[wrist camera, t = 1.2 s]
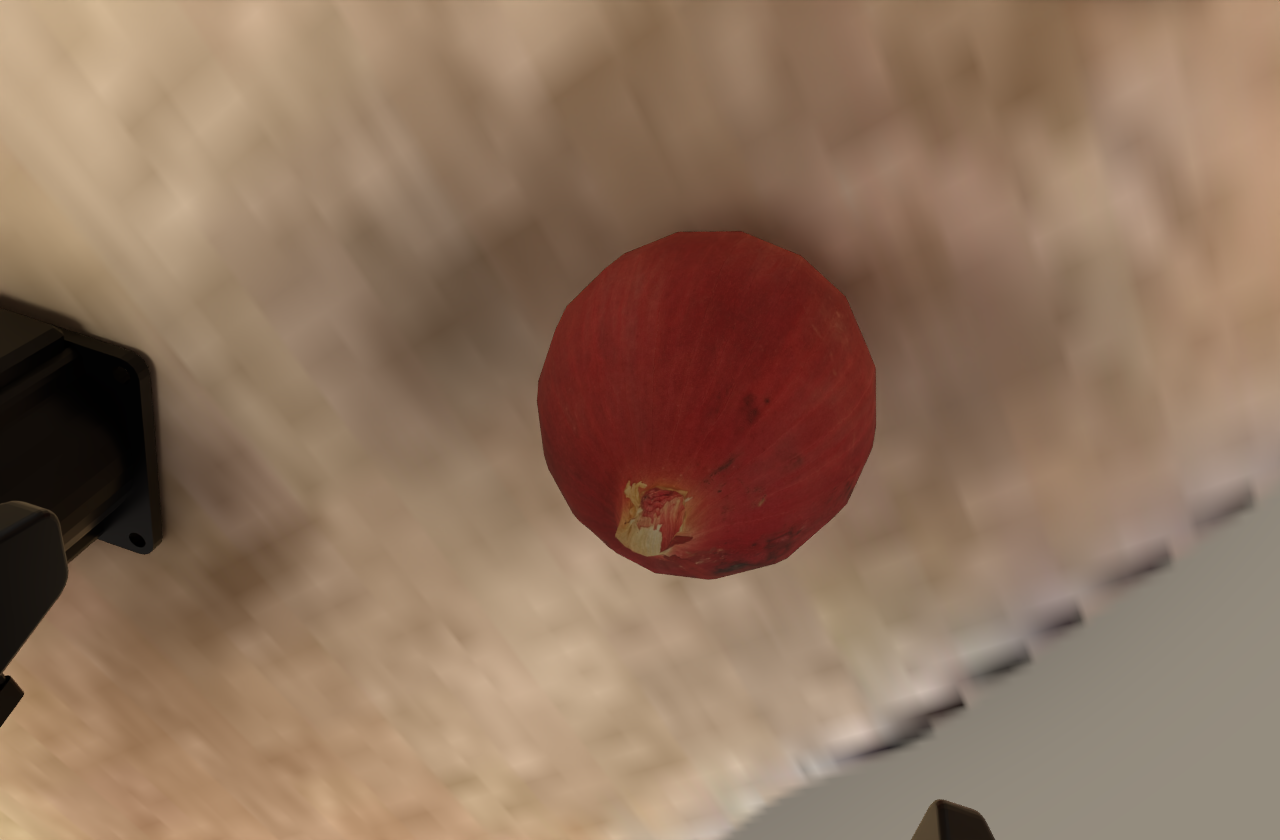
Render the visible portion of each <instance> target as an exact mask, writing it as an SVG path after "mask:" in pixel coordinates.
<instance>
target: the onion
mask: <svg viewBox="0 0 1280 840" xmlns="http://www.w3.org/2000/svg"><path fill="white" fill-rule="evenodd" d="M537 405H538V412H539V420H540V428H541V435H542V443H543V450H544V456H545V459H546V463H547V466H548V469H549V471H550V473H551V475H552V476H553V478H554V480H555V482H556V484H557V485H558V487H559V489H560V491H561V493H562V495H563V496H564V498H565V500H566V502H567V504H568V505H569V507H570V509H571V511H572V513H573V514H574V515H575V517H576V518H577V519H578V520H579V521H580V522H581V523H582V524H584V525H585V526H586V527H587V528H589V529H590V530H591V531H592V532H593V533H594V534H595V535H596V536H598V537H599V538H600V539H601V540H602V541H603V542H604V543H605V544H606V545H607V546H608V547H609V548H611V549H613V550H614V551H615V552H616V553H618V554H620V555H622V556H623V557H625V558H627V559H629V560H631V561H633V562H635V563H637V564H639V565H641V566H643V567H645V568H646V569H648V570H650V571H652V572H654V573H659V574H667V575H675V576H683V577H692V578H700V579H717V578H721V577H725V576H729V575H733V574H737V573H741V572H745V571H749V570H753V569H757V568H760V567H764V566H768V565H772V564H775V563H778V562H780V561H782V560H784V559H786V558H788V557H789V556H790V555H791V554H792V553H793V552H795V551H796V550H797V549H798V548H799V547H800V546H801V545H803V544H804V543H805V542H806V541H807V540H808V539H809V538H811V537H812V536H813V535H814V534H815V533H816V532H817V531H819V530H820V529H821V528H822V527H823V526H824V525H825V524H827V523H828V522H829V521H830V520H831V519H832V518H833V517H834V516H835V515H836V514H837V513H838V512H839V511H840V510H841V509H842V508H843V507H844V506H845V505H846V504H847V502H848V500H849V498H850V496H851V494H852V491H853V489H854V487H855V485H856V483H857V480H858V478H859V476H860V474H861V472H862V469H863V467H864V465H865V463H866V461H867V458H868V456H869V454H870V452H871V450H872V447H873V441H874V435H875V429H876V368H875V365H874V363H873V360H872V358H871V355H870V353H869V350H868V348H867V345H866V343H865V341H864V338H863V336H862V334H861V331H860V329H859V327H858V324H857V322H856V320H855V317H854V315H853V313H852V310H851V308H850V306H849V303H848V301H847V299H846V297H845V296H844V295H843V294H842V293H841V292H840V291H839V290H838V289H837V288H835V287H834V286H833V285H832V284H831V283H830V282H829V281H828V280H827V279H826V278H825V277H824V276H822V275H821V274H820V273H819V272H818V271H817V270H816V269H815V268H814V267H813V266H812V265H811V264H809V263H808V262H807V261H806V260H805V259H804V258H803V257H802V256H800V255H798V254H796V253H793V252H791V251H788V250H786V249H783V248H781V247H778V246H776V245H773V244H771V243H769V242H766V241H764V240H761V239H759V238H756V237H754V236H751V235H749V234H747V233H744V232H742V231H726V232H677V233H674V234H672V235H669V236H667V237H664V238H662V239H659V240H657V241H654V242H652V243H649V244H647V245H644V246H642V247H639V248H637V249H634V250H632V251H630V252H627V253H625V254H623V255H622V256H621V257H619V258H618V259H617V260H615V261H614V262H613V263H612V264H610V265H609V266H608V267H606V268H605V269H604V270H603V271H602V272H601V273H600V274H599V275H598V276H597V277H596V278H595V279H594V280H593V281H592V282H591V283H590V284H589V285H588V286H587V287H586V288H585V289H584V290H583V291H582V292H581V293H580V294H579V295H578V296H577V297H576V298H575V299H574V300H573V301H572V302H571V303H570V304H569V305H568V306H567V307H566V309H565V311H564V313H563V315H562V317H561V319H560V321H559V323H558V325H557V327H556V330H555V332H554V336H553V339H552V342H551V345H550V348H549V351H548V354H547V357H546V360H545V363H544V366H543V369H542V372H541V375H540V378H539V381H538V395H537Z"/></svg>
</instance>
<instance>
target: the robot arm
mask: <svg viewBox="0 0 1280 840" xmlns="http://www.w3.org/2000/svg"><path fill="white" fill-rule="evenodd" d="M125 369H126V371H127V372H128V373H129V374H128V373H127V372H126V371H125ZM162 538H163V535H162V522H161V509H160V496H159V483H158V470H157V457H156V444H155V431H154V418H153V405H152V392H151V379H150V372H149V368H148V366H147V364H146V363H145V361H144V360H143V359H142V358H141V357H140V356H139V355H137V354H135V353H134V352H132V351H129V350H126V349H123V348H120V347H117V346H114V345H111V344H108V343H105V342H102V341H99V340H96V339H93V338H90V337H87V336H84V335H81V334H78V333H75V332H72V331H69V330H66V329H63V328H60V327H57V326H54V325H51V324H48V323H45V322H42V321H39V320H36V319H33V318H30V317H27V316H24V315H21V314H18V313H14V312H11V311H8V310H5V309H2V308H0V727H1V726H2V724H3V723H4V722H5V720H6V719H7V718H8V716H9V715H10V713H11V712H12V711H13V709H14V708H15V707H16V705H17V704H18V702H19V701H20V700H21V698H22V697H23V695H24V692H23V691H22V689H21V688H20V687H19V686H18V684H17V683H16V682H15V681H14V680H13V678H12V677H11V676H4V674H3V671H4V670H5V669H6V667H7V666H8V665H9V663H10V662H11V661H12V659H13V658H14V657H15V655H16V654H17V653H18V651H19V650H20V648H21V647H22V646H23V644H24V643H25V642H26V640H27V639H28V638H29V636H30V635H31V634H32V632H33V631H34V630H35V628H36V627H37V626H38V624H39V623H40V622H41V620H42V619H43V618H44V616H45V615H46V614H47V612H48V611H49V610H50V608H51V607H52V605H53V604H54V603H55V601H56V600H57V599H58V597H59V596H60V594H61V593H62V591H63V589H64V587H65V585H66V582H67V578H68V563H69V562H71V561H72V560H73V559H74V558H75V557H76V556H78V555H79V554H80V553H81V552H82V551H83V550H84V549H86V548H87V547H88V546H89V545H90V544H91V543H93V542H94V541H95V540H96V539H99V540H102V541H105V542H108V543H111V544H113V545H116V546H119V547H122V548H125V549H128V550H130V551H133V552H136V553H139V554H149V553H151V552H152V551H153V550H154V549H155V548H156V547H157V546H158V545H159V544H160V543H161V542H162ZM911 840H995V839H994V837H993V835H992V833H991V831H990V829H989V827H988V824H987V823H986V821H985V819H984V818H983V816H982V815H981V814H980V813H979V812H978V811H976V810H974V809H971V808H968V807H965V806H962V805H959V804H956V803H952V802H949V801H946V800H942V799H938V800H935V801H934V802H933V803H932V804H931V805H930V806H929V808H928V810H927V812H926V814H925V816H924V817H923V819H922V821H921V823H920V824H919V826H918V828H917V830H916V832H915V834H914V836H913V837H912V839H911Z"/></svg>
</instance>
